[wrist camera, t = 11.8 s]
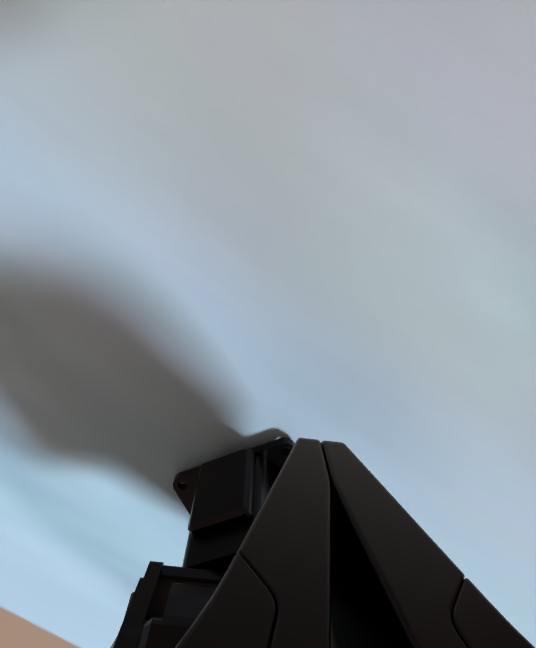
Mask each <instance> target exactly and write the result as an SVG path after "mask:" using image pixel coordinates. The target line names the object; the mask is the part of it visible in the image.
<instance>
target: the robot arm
mask: <svg viewBox="0 0 536 648" xmlns="http://www.w3.org/2000/svg"><path fill="white" fill-rule="evenodd" d="M283 447H287V448H289V449H288V450H286V451H283V450H281V448H283ZM180 482H186V483H187V484H181V483H180ZM173 488H174V490H175V491H176V493H177V495H178V496H179V498H180V499H181V501H182V503H183V504H184V506H185V507H186V509H187V511H188V512H189V514H190V519H189V524H188V530H189V536H188V541H187V546H186V551H185V556H184V561H183V566H182V567H176V566H166V565H163V562H153V561H150V563H149V565H148V568H147V571H146V573H145V576H144V578H140V580H139V582H138V585H137V587H136V590H135V592H133V593H132V594H131V597H130V600H129V604H128V607H127V611H126V614H125V617H124V621H123V623H122V626H121V628H120V631H119V633H118V636H117V637H116V639H115V641H114V642H113V644H112V646H111V647H110V648H535V647H534V646H533V645H532V644H531V643H530V642H529V641H528V640H526V639H525V638H524V637H523V636H522V635H521V634H520V633H519V632H518V631H517V630H516V629H515V628H514V627H513V626H512V625H511V624H510V623H509V622H508V621H507V620H506V619H505V618H504V616H503V615H502V614H501V613H500V612H499V611H498V610H497V609H496V608H495V607H494V606H493V605H492V604H491V603H490V602H489V601H488V600H487V599H486V598H485V597H484V595H483V594H482V593H481V592H480V591H479V590H478V589H477V588H476V587H475V586H474V585H473V583H472V582H471V581H470V580H469V579H467V578H465V579H464V577H465V576H464V574H463V573H462V572H461V571H460V569H459V568H458V567H457V566H456V565H455V564H454V563H453V562H452V561H451V560H450V559H449V557H448V556H447V555H446V554H445V553H444V552H443V551H442V550H441V549H440V548H439V547H438V545H437V544H436V543H435V542H434V541H433V540H432V539H431V538H430V537H429V536H428V535H427V533H426V532H425V531H424V530H423V529H422V528H421V527H420V526H419V525H418V524H417V523H416V521H415V520H414V519H413V518H412V517H411V516H410V515H409V514H408V513H407V512H406V510H405V509H404V508H403V507H402V506H401V505H400V504H399V503H398V502H397V501H396V500H395V498H394V497H393V496H392V495H391V494H390V493H389V492H388V491H387V490H386V489H385V488H384V486H383V485H382V484H381V483H380V482H379V481H378V480H377V479H376V478H375V477H374V476H373V474H372V473H371V472H370V471H369V470H368V469H367V468H366V467H365V466H364V465H363V463H362V462H361V461H360V460H359V459H358V458H357V457H356V456H355V455H354V454H353V453H352V451H351V450H350V449H349V448H348V447H347V446H346V445H345V444H344V443H341V442H332V441H322V442H321V443H320V441H319V440H314V439H306V438H299V439H298V440H297V441H296V443H294V442H293V441H292V440H291V439H288V438H281V439H278V440H275V441H272V442H269V443H266V444H264V445H261V446H258V447H255V448H252V449H245V450H242V451H239V452H236V453H233V454H230V455H228V456H225V457H222V458H219V459H216V460H213V461H210V462H207V463H204V464H202V466H199V467H196V468H193V469H190V470H187V471H184V472H181V473H179V474H177V475H176V476H175V478H174V482H173Z"/></svg>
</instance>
